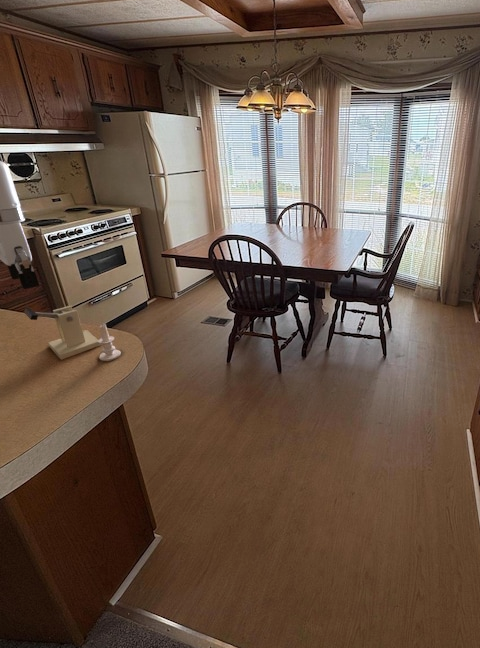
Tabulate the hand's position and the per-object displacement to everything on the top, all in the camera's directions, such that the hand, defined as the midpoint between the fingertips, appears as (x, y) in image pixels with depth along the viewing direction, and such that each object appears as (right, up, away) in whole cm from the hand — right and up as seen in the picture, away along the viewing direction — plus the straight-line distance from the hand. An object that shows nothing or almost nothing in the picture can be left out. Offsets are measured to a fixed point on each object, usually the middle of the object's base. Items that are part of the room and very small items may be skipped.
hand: (25, 282), depth 88 cm
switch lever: (+1, -10, +7) cm, 12 cm away
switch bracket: (+3, -19, +13) cm, 23 cm away
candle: (+16, -21, +9) cm, 28 cm away
